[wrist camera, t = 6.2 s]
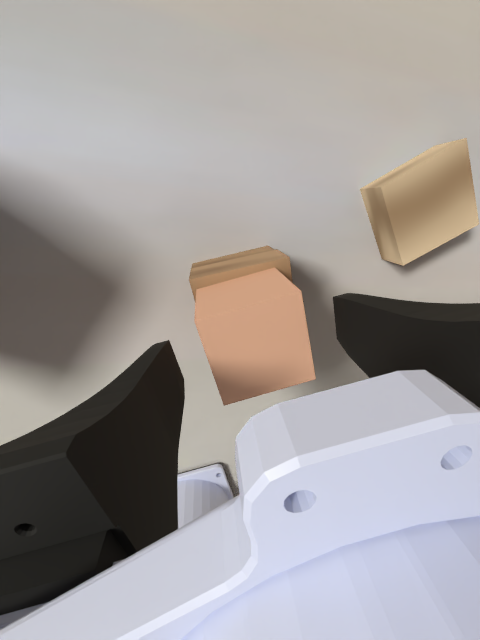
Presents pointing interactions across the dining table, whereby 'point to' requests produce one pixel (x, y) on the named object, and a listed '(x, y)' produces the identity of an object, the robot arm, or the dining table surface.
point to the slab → (422, 202)
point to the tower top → (239, 269)
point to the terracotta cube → (254, 334)
